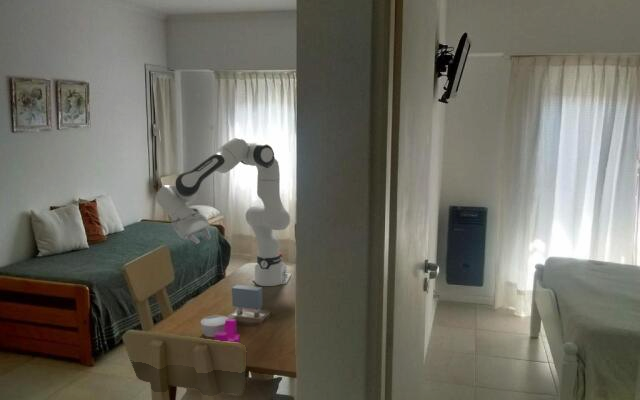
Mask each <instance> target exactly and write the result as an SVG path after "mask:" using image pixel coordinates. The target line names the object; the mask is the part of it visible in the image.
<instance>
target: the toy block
mask: <svg viewBox="0 0 640 400" xmlns="http://www.w3.org/2000/svg"><path fill="white" fill-rule="evenodd" d="M237 327H238V326H237V324H236V319H226V321H225V330H224V332H217V333H216V334H215V337H214V340H220V341H230V342H239V343H240V344H241V334H239V333H238V332H237V330H238V328H237Z"/></svg>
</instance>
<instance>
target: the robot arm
mask: <svg viewBox="0 0 640 400" xmlns="http://www.w3.org/2000/svg"><path fill="white" fill-rule="evenodd" d="M274 153H275V152H274V149H273V148H272V147H271V145H269V144H267V143H264V142H263V143H260V142H253V143H252V142H251V143H250V142H249V143H247V142H246V140H244V139H243V138H241V137H234V138H232V139H231V140H228V141H227V142H226V143H224V144H223V145H221V146H220V147H219V148H218V149H217V150H216V151H215V152H214V153H213V154H212V155H211V156H209V157H208V158H207V159H205V160H204V161H202V162H201V163H200V164H198V165H197V166H195V168H193V169H190V170H188V171H186V172H182V173H181V174H179V175H178V176H177V178H176V179H175V184H171V185H162V186H161V187H160V188H159V189H158V190H157V191H156V194H155V200H156V203H157V204H158V206H159V207H160V208H161V209H162V210H163V211H164V212H165V213H166V214H168V216H169V218H170V219H171V226H172V227H173V230H174V231H175V233H176V234H177V236H178V237H179V238H180V239H181V240H186V239H188V240H190V241H192V242H194V243H195V245H198V244H199V243H200V242H201V239H199V237H196V236H195V235H198V234H201V233H202V234H204V235H205V238H206V239H207V240H209V239H211V238H212V235H211V234H210V230H209V229H208V228H210V226H211V224H210V222H209V220H208V219H207V218H206V217H205V216H204V215H203V214H202V213H201V211H200V210H199V209H198V208H193V207H189V205H191V204H193V203H194V202H195V201H197V199H198V197H199V190H200V187H201V184H202V182H204V180H206V179H207V178H208V177H209V176H211V175H212V174H213V173H215V172H218V173H221V174H227V173H228V172H230V171H232V170H233V169H234V168H236V166H238V164H239V163H241V164H243V165H246V166H252V167H254V166H255V167H256V169H257V183H256V184H257V185H256V187H257V188H256V194H257V196H258V198H260V200H261V201H262V204H263V206H262V205H254V206H250V207H249V208H247V211H246V212H245V220H246V223H247V224H248V225H249V226H250V227H251V229H252V230H253V234H254V235H255V240H256V249H257V255H256V264H255V265H254V277H253V278H252V279H251V280H252V282H254V283H255V284H256V285H257V286H261V287H274V286H279V285H287V283H288V282H289V280H290V279H291V277H292V273H291V272H288V267H287V265H286V263H284V262H283V261H282V257H283V256H284V255H283V253H281V252H280V239H279V238H278V237H277V236H276V234H275V233H274V231H281V230H286V229H287V228H288V227H289V225H290V222H291V216H290V213H289V212H288V211H287V210H286V209H285V207H284V205H283V203H282V200H281V194H280V193H281V192H280V186H281V185H280V184H281V183H280V179H281V177H280V175H281V174H280V165H279V162H278V160H277V159H276V157H275V154H274Z"/></svg>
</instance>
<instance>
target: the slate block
mask: <svg viewBox="0 0 640 400" xmlns="http://www.w3.org/2000/svg"><path fill="white" fill-rule="evenodd" d="M231 297H232V300H231V301H232V307H235V308H237V307H242V308H249V309H259V308H260V309H261V308H262V307H263V305H264V304H263V287H262V286H261V287H260V286H259V287H258V286H251V285H250V286H249V285H240V284H236V285H234V286H232V287H231Z"/></svg>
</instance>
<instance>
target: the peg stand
mask: <svg viewBox="0 0 640 400" xmlns="http://www.w3.org/2000/svg"><path fill="white" fill-rule="evenodd" d="M271 316H273V310H265V309H261V308H259V309H253V308H244V307H236V309H235V310H233V311H232V312H231V313H230V314H229V315H227V316H226V317H228V318H229V319H236V325H241V326H245V327H246V326H247V327H248V326H249V327H256V328H260V327H261V326H262V325H263V324H264V323H265V322H266V321H267V320H268V319H269V318H270V317H271ZM260 325H261V326H260Z"/></svg>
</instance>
